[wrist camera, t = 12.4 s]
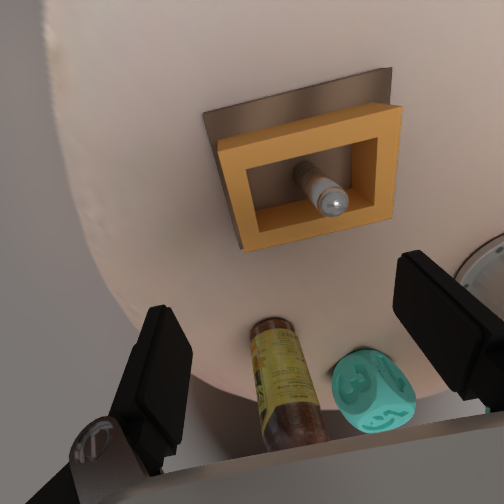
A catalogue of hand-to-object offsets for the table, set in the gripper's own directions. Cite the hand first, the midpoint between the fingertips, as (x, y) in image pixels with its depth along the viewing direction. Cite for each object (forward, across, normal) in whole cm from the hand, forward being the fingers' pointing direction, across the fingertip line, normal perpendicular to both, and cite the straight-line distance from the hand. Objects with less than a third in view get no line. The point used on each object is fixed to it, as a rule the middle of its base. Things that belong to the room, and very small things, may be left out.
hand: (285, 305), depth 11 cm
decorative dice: (+17, -10, +32) cm, 38 cm away
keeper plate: (+16, -4, -1) cm, 16 cm away
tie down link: (+14, -4, -1) cm, 15 cm away
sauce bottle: (+16, +2, +20) cm, 26 cm away
